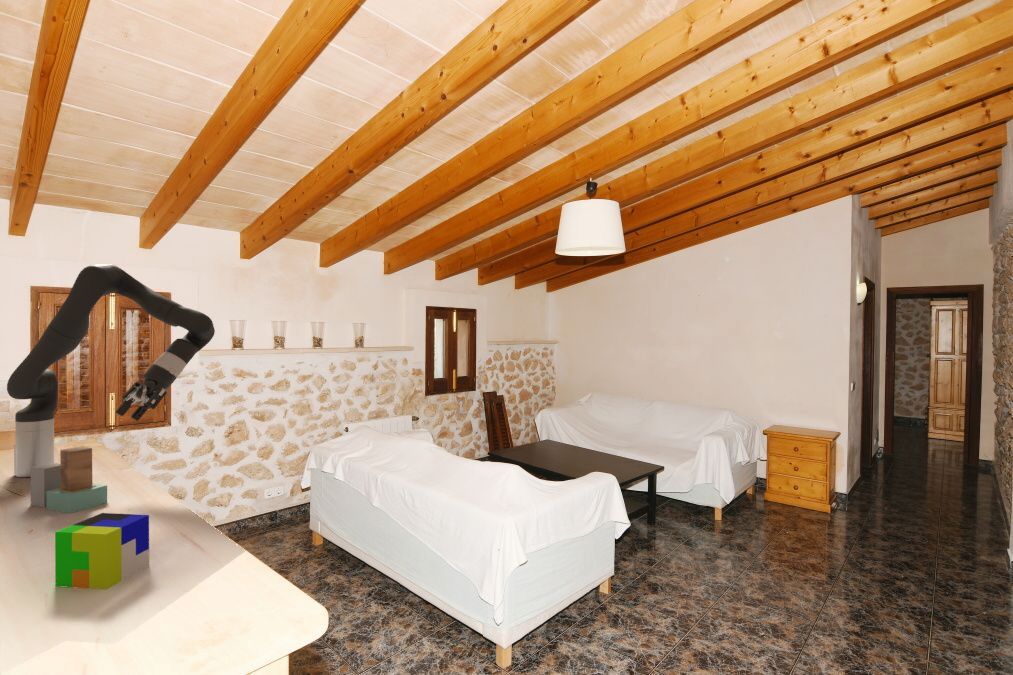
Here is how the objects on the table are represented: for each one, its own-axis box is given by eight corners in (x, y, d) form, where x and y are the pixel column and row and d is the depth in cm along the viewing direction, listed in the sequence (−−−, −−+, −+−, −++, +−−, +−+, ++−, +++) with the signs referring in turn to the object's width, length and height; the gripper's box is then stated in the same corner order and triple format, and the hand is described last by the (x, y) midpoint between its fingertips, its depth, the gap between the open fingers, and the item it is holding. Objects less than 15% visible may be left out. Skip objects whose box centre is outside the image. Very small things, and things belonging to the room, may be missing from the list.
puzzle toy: (149, 565, 105) (148, 515, 105) (106, 589, 95) (106, 534, 95) (102, 562, 106) (102, 512, 106) (55, 586, 96) (55, 531, 96)
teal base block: (46, 510, 137) (46, 490, 137) (84, 499, 145) (84, 481, 145) (70, 514, 134) (70, 494, 134) (107, 503, 142) (107, 484, 142)
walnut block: (60, 488, 139) (60, 450, 139) (83, 483, 143) (83, 446, 143) (69, 491, 136) (69, 452, 136) (92, 486, 141) (92, 448, 140)
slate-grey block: (30, 505, 140) (30, 467, 139) (51, 499, 144) (51, 462, 144) (44, 507, 138) (44, 469, 138) (65, 501, 143) (65, 464, 143)
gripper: (142, 360, 161) (102, 406, 152) (168, 365, 153) (127, 413, 145) (162, 374, 166) (124, 419, 158) (188, 380, 159) (150, 427, 151)
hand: (126, 416), depth 151 cm, fingers open, 8 cm apart
